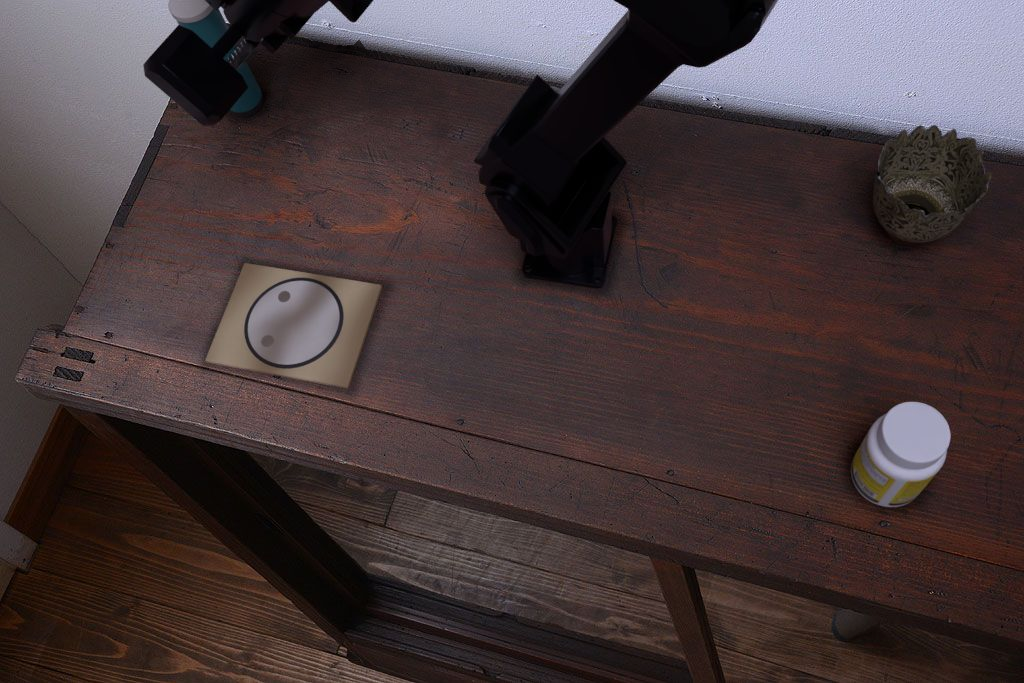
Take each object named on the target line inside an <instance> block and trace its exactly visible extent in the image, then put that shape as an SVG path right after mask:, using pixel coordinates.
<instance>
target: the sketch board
mask: <svg viewBox="0 0 1024 683" xmlns="http://www.w3.org/2000/svg"><path fill="white" fill-rule="evenodd" d="M382 290H383V285H382V284H379V283H372V282H366V281H360V280H354V279H347V278H341V277H335V276H329V275H323V274H317V273H311V272H310V273H309V272H304V271H297V270H292V269H286V268H279V267H274V266H267V265H261V264H255V263H248V262H244V263H243V266H242V268H241V271H240V273H239V275H238V278H237V280H236V282H235V285H234V288H233V290H232V292H231V295H230V298H229V300H228V303H227V305H226V307H225V310H224V312H223V314H222V318H221V319H220V322H219V324H218V328H217V330H216V332H215V335H214V338H213V340H212V342H211V344H210V347H209V350H208V352H207V355H206V357H205V360H204V361H205V363H207V364H212V365H217V366H222V367H228V368H234V369H238V370H244V371H250V372H254V373H255V372H256V373H260V374H266V375H272V376H276V377H283V378H287V379H293V380H298V381H303V382H310V383H313V384H314V383H315V384H320V385H326V386H330V387H336V388H341V389H346V390H350V387H351V384H352V381H353V378H354V376H355V372H356V369H357V367H358V366H357V365H358V364H359V360H360V357H361V354H362V351H363V348H364V345H365V342H366V340H367V335H368V334H369V329H370V327H371V324H372V322H373V318H374V315H375V312H376V309H377V306H378V303H379V300H380V297H381V295H382V294H381V293H382Z"/></svg>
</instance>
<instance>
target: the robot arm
mask: <svg viewBox="0 0 1024 683" xmlns="http://www.w3.org/2000/svg"><path fill="white" fill-rule="evenodd" d="M205 1H206V2H207V3H208V4H209V5H210V6H211V7H212V8H214V9H215V10H218V9H219V10H220V9H222V12H223V15H224V17H225V19H226V21H227V22H228V24H229V25H230V26H228V30H227V31H226V32H225V33H224V34H223V35H222V36H221V38H220V39H219V40H218V41H217V42H216V43H215V44H214V46H213V47H212V48H211V47H210V46H209V45H208V44H207V43H206V42H204V41H203V40H202V39H201V38H200V37H199V36H198V35H197V34H196V33H194V32H193V31H192V30H190V29H187V28H185V27H183V26H180V25H179V24H177V26H176V27H175V28H174V29H173V30H172V31H171V32H170V34H169V35H168V36H167V37H166V38H165V39H164V40H163V41H162V43H160V45H159V46H158V47H157V48H156V49H155V50H154V51H153V53H151V55H150V56H149V57H148V58H147V59H146V61H144V63H143V66H142V67H143V72H144V77H145V78H146V79H148V80H149V81H150V82H151V83H152V84H153V85H155V86H156V87H157V88H158V89H160V91H162V92H163V93H164V94H165V95H166V96H167V97H168V98H170V99H171V100H172V101H173V102H174V103H176V105H178V106H179V107H180V108H181V109H183V111H185V112H186V113H187V114H188V115H190V116H191V117H192V118H193V119H194V120H195V121H197V122H198V124H200V125H201V126H202V127H213V126H216V125H217V124H218V123H220V122H221V121H222V120H223V119H224V117H225V116H226V115H227V114H228V113H229V111H230V109H231V108H232V107H233V105H234V104H235V103H236V102H237V101H238V99H239V98H240V97H241V96H242V95H243V93H244V92H245V91H246V90H247V89H248V86H247V84H246V82H245V80H244V78H243V76H242V75H241V74H240V73H239V72H238V71H237V70H238V68H239V67H240V66H241V65H242V64H243V63H244V61H245V60H247V59H248V58H249V57H250V56H251V54H252V53H253V52H254V51H255V50H256V49H257V48H258V46H259V45H260V44H261V46H263V48H264V49H266V50H267V51H268V52H269V53H270V54H271V55H274V54H275V53H276V52H278V50H279V49H280V48H281V47H282V45H284V43H285V42H286V41H287V40H288V38H289V39H290V40H292V39H293V38H295V36H297V35H298V33H299V32H300V31H301V30H302V29H303V28H304V27H305V25H306V24H307V23H308V22H309V21H310V19H311V18H312V17H313V16H314V14H315V13H317V12H318V11H319V10H320V9H322V8H323V7H324V6H325V5H326V4H327V3H328V2H330V3H331V4H332V6H334V7H335V8H336V9H337V11H339V12H340V13H341V14H342V15H343V17H345V18H346V20H348V21H349V22H351V23H357V21H358V20H359V19H360V18H361V17H362V16H363V14H364V13H365V12H366V11H367V9H368V8H369V7H370V6H371V5H372V3H373V2H374V0H205ZM613 1H614V2H616V3H617V4H619V5H620V6H623V7H624V8H626V9H627V10H626V12H625V13H624V14H623V16H622V17H621V18H620V19H619V20H618V21H617V23H615V25H613V27H612V28H611V29H610V31H609V32H608V33H607V34H606V36H604V38H602V40H601V41H600V42H599V43H598V44H597V46H596V47H595V48H594V49H593V51H592V52H591V53H590V54H589V55H588V57H587V58H586V59H585V60H584V61H583V62H582V63H581V65H580V66H579V67H578V68H577V69H576V71H575V72H574V73H573V74H572V75H571V76H570V78H569V79H568V80H567V81H566V83H565V84H564V85H563V86H562V87H560V88H559V87H556V86H555V85H552V86H551V85H549V83H548V82H546V81H545V80H544V79H543V78H542V77H541V76H540V75H539V74H536V75H535V77H533V80H531V82H530V83H529V85H528V87H527V88H526V89H525V90H524V92H521V93H520V94H519V96H518V98H517V99H516V100H515V101H514V103H513V104H512V105H511V107H510V109H509V110H508V111H507V112H506V114H505V116H504V117H503V118H502V119H501V121H500V123H499V124H498V125H497V127H496V128H495V130H494V131H493V133H492V134H491V135H490V137H489V138H488V139H487V141H486V142H485V144H484V145H483V147H482V148H481V150H480V151H479V152H478V154H476V156H475V158H474V159H473V163H474V164H476V165H479V166H480V168H479V169H478V172H477V178H478V182H479V184H481V185H483V186H485V187H486V188H485V189H484V196H485V198H486V199H487V201H488V203H489V204H490V206H491V208H492V209H493V211H494V212H495V214H496V215H497V217H498V218H499V220H500V221H501V224H502V225H503V227H504V228H505V230H506V231H507V233H508V234H509V235H510V236H511V237H513V238H515V239H517V240H518V243H519V248H520V250H521V252H522V253H525V256H524V259H523V263H522V268H521V273H522V275H523V276H524V277H525V278H527V279H528V278H529V279H536V280H542V281H549V282H554V283H561V284H568V285H574V286H580V287H587V288H594V289H600V288H602V287H604V284H605V281H606V276H607V271H608V268H609V263H610V259H611V254H612V251H613V246H614V241H615V237H616V233H617V227H618V224H619V223H618V217H617V216H616V215H614V214H613V211H612V209H613V208H612V192H611V191H610V190H611V189H612V187H613V185H614V184H615V182H616V181H617V180H618V178H619V176H620V174H621V173H622V172H623V170H624V168H625V167H626V165H627V164H628V162H627V160H626V159H625V157H624V156H622V154H621V153H620V152H619V151H618V150H617V149H616V148H615V147H614V146H613V145H612V144H611V142H609V141H608V139H606V138H605V137H606V136H607V134H609V133H610V132H611V131H612V130H613V129H614V128H615V127H616V126H618V124H619V123H620V122H622V121H623V119H625V118H626V117H627V116H628V115H629V114H631V112H632V111H633V110H634V109H636V108H637V106H639V104H641V103H642V102H643V101H644V100H645V99H647V97H648V96H649V95H651V93H653V92H654V91H655V89H657V88H658V87H659V86H660V85H661V84H662V83H663V82H665V80H667V78H668V77H670V75H671V74H673V73H674V72H675V71H676V70H677V69H678V68H680V67H682V66H683V65H684V66H688V67H693V68H706V67H709V66H710V65H712V64H714V63H716V62H718V61H720V60H721V59H724V58H726V57H727V56H729V55H732V54H733V53H735V52H737V51H739V50H741V49H742V48H744V47H746V46H748V45H749V44H751V43H752V42H753V40H754V39H755V37H756V36H757V35H758V33H759V32H760V30H761V29H762V27H763V26H764V24H765V23H766V21H767V19H768V17H769V16H770V14H771V13H772V11H773V10H774V8H775V7H776V5H777V3H778V2H779V0H613ZM242 37H243V39H242V41H241V42H240V43H239V45H238V47H237V50H238V51H237V50H234V51H233V52H234V54H231V55H230V56H231V58H230V57H228V58H227V61H228V62H227V61H225V60H224V59H223V58H224V57H225V56H226V54H227V53H228V52H229V51H230V50H231V49H232V47H233V46H234V45H235V44H236V43H237V44H238V42H239V40H241V38H242ZM527 270H530V271H527ZM596 281H599V282H596Z"/></svg>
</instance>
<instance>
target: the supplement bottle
mask: <svg viewBox="0 0 1024 683" xmlns="http://www.w3.org/2000/svg"><path fill="white" fill-rule="evenodd" d="M951 436H952V435H951V428H950V426H949V423H948V421H947V419H946V418H945V417H944V416H943V414H942V413H941V412H940V411H939V410H937V409H936V408H935V407H933V406H931V405H929V404H928V403H927V404H926V403H923V402H920V401H905V402H901V403H898V404H896V405H894V406H893V407H892V408H890V409H889V410H888V411H887V413H884V414H883V415H881V416H880V417H878V418H877V419H875V421H874V422H873V423H872V425H871V426H870V428H869V429H868V431H867V432H866V435H865V437H864V438H863V440H862V442H861V443H860V445H859V447H858V448H857V450H856V452H855V454H854V455H853V458H852V460H851V465H850V475H851V480H852V483H853V485H854V487H855V489H856V490H857V491H858V493H859V494H860V495H861V496H862V497H863V498H864V499H865V500H867V501H868V502H870V503H872V504H874V505H877V506H880V507H883V508H884V507H885V508H898V507H903V506H906V505H908V504H910V503H911V502H913V501H914V500H915V499H916V498H918V496H920V494H921V493H922V492H923V490H925V488H926V487H927V486H928V484H929V483H931V481H932V480H933V479H934V477H935V476H936V475H937V474H938V473H939V471H940V470H941V469H942V467H943V466H944V464H945V461H946V459H947V454H948V448H949V446H950V443H951Z"/></svg>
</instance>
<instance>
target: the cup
mask: <svg viewBox="0 0 1024 683" xmlns="http://www.w3.org/2000/svg"><path fill="white" fill-rule="evenodd" d="M985 155H986V154H985V150H978V141H977V140H976V138H975V137H970V136H969V137H968V136H967V137H961V138H959V137H958V132H957V129H956V128H953V129H950V130H947V132H946V133H945V134H944V135H943V133H942V130H940V128H939V127H938V126H937V125H936V124H934V125H933V124H932V125H930V126H929V128H926V127H925V126H924V125H922V124H920V125H917V126H916V127H915V128H914V129H913V130H912V131H910V133H909V134H908V130H906V129H905V128H904V129H903V130H901V131H900V132H899V134H898V136H897V137H896V139H892V138H890V139H887V140H886V141H885V143H884V144H883V146H882V149H881V151H880V154H879V156H878V158H877V167H876V173H875V177H874V178H875V179H874V185H873V190H872V193H873V194H872V204H873V205H872V206H873V211H874V214H875V217H876V219H877V221H878V223H879V225H880V226H881V227H882V228H883V229H884V231H885V233H886V234H887V236H888V237H889V238H890V240H892V241H893V242H895V243H897V244H899V245H902V246H916V245H921V244H923V243H924V244H925V243H930V242H935V241H937V240H940V239H942V238H944V237H946V236H948V235H949V234H950V233H952V232H953V231H954V230H955V229H956V228H957V227H959V226H960V224H961V223H962V222H963V221H964V220H965V219H966V218H967V217H968V215H969V214H970V213H971V212H972V211H973V209H974V208H975V206H976V205H978V203H979V202H980V201H981V200H982V199H983V198H984V197H985V195H986V194H987V192H988V190H989V187H990V186H989V184H990V182H991V180H992V174H993V173H992V172H991V171H989V172H988V171H987V172H986V167H985V166H984V164H983V162H984V157H985Z"/></svg>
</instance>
